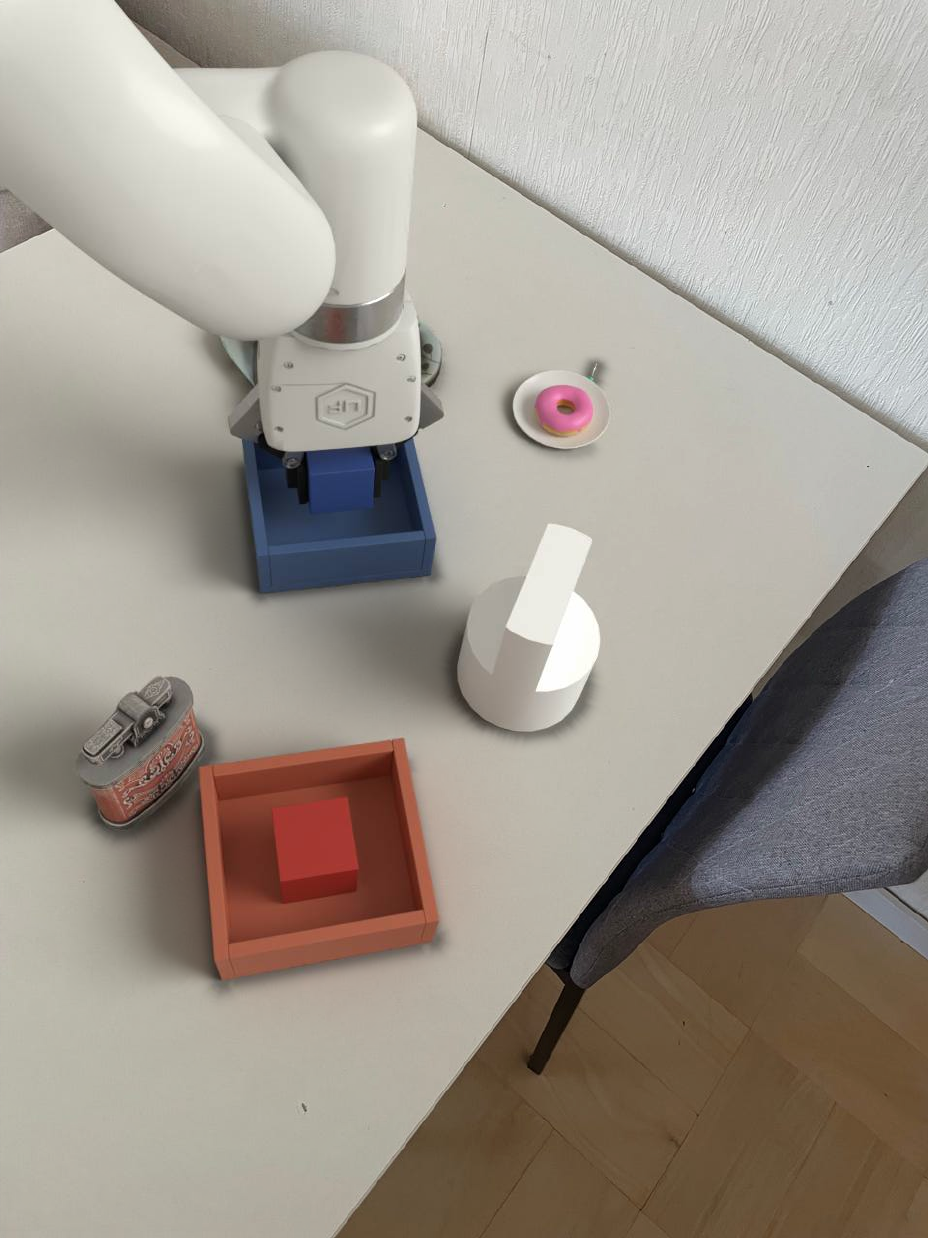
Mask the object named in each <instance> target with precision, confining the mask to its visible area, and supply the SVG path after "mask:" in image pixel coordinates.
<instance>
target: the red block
mask: <svg viewBox="0 0 928 1238" xmlns="http://www.w3.org/2000/svg"><path fill="white" fill-rule="evenodd" d="M271 810H272V818H273V827H274V835H275V844H276V852H277V861H278V869H279V878H280V886H281V894H282V902H283V904H287V903H293V902H299V901H305V900H311V899H317V898H322V897H328V896H334V895H340V894H346V893H352V892H356V891H357V881H358V869H359V868H358V862H357V855H356V849H355V843H354V836H353V830H352V824H351V817H350V811H349V805H348V798H347V797H341V798H334V799H328V800H321V801H315V802H308V803H301V804H295V805H288V806H282V807H275V808H272V809H271Z"/></svg>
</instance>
